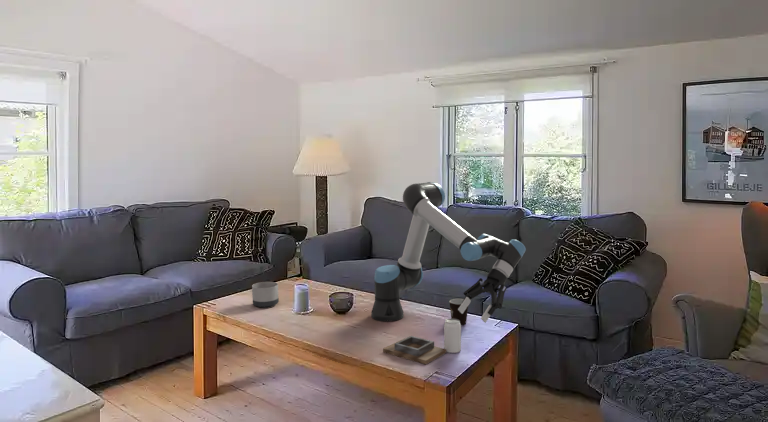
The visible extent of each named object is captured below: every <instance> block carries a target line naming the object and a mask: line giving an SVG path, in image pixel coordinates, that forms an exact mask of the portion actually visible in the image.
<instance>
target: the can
mask: <svg viewBox="0 0 768 422" xmlns="http://www.w3.org/2000/svg"><path fill="white" fill-rule="evenodd" d="M443 327H444V328H443V329H444V330H443V335H444V336H443V339H444V340H443V346H444V347H443V349H446V353H448V354H458V353H460V352H461V349H462V325H461V324H460V320H458V319H451V318H446V319H445V321H444V324H443Z"/></svg>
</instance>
